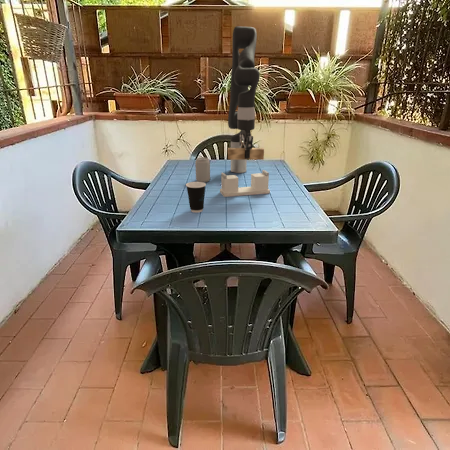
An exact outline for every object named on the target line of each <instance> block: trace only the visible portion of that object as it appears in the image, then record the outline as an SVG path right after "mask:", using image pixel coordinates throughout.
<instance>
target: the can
mask: <svg viewBox="0 0 450 450" xmlns="http://www.w3.org/2000/svg"><path fill="white" fill-rule="evenodd" d="M194 164H195V180H196V182H203V183H208V182H210V180H211V162H210V160H209V158H208V157H197V158H196V160H195V163H194Z"/></svg>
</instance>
